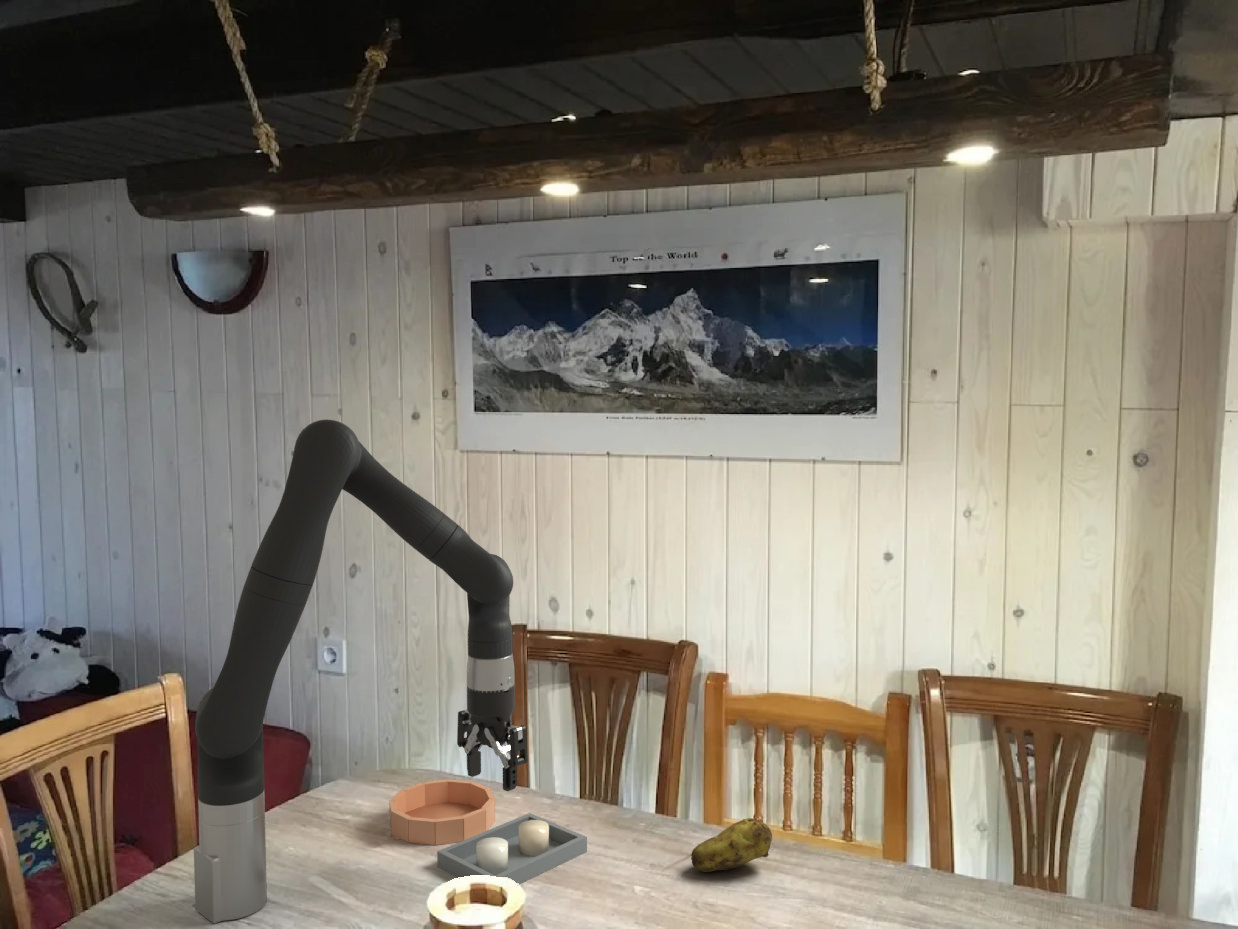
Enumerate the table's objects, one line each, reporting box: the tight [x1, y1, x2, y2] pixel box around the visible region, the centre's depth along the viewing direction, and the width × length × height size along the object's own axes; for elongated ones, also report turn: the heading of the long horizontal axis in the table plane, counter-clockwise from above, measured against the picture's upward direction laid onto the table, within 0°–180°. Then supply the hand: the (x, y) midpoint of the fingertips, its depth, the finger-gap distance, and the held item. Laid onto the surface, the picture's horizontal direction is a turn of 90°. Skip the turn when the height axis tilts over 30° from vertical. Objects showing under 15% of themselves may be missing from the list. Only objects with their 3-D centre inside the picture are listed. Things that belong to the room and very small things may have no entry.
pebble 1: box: [476, 837, 508, 875], centre depth 159 cm, size 5×5×4 cm
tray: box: [436, 812, 588, 885], centre depth 162 cm, size 20×14×4 cm
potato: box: [690, 817, 773, 873], centre depth 161 cm, size 8×13×8 cm, turn 82°
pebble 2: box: [519, 820, 549, 857], centre depth 165 cm, size 5×5×4 cm
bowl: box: [388, 778, 496, 846], centre depth 176 cm, size 18×18×5 cm
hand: (491, 782), depth 158 cm, fingers open, 8 cm apart
